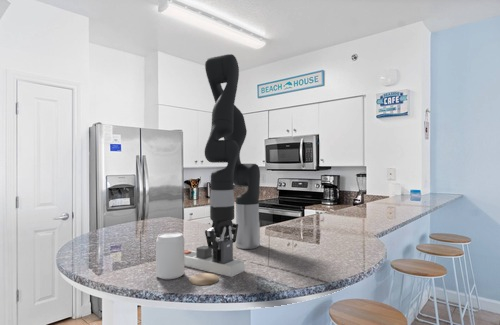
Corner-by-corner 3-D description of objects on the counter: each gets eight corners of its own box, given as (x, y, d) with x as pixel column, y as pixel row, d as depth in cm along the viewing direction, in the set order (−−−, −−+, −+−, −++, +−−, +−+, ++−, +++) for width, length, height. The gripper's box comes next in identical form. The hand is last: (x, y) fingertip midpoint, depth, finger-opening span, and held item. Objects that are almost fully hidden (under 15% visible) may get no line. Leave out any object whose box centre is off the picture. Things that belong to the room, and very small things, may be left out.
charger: (221, 260, 101) (221, 238, 101) (233, 262, 99) (232, 240, 99) (212, 264, 98) (212, 241, 98) (224, 266, 95) (223, 243, 95)
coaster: (203, 273, 95) (203, 271, 95) (224, 278, 91) (224, 276, 91) (183, 281, 88) (183, 279, 88) (205, 287, 84) (205, 285, 84)
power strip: (183, 257, 112) (183, 240, 112) (244, 270, 97) (244, 251, 98) (169, 262, 107) (169, 244, 107) (231, 276, 92) (231, 256, 92)
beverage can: (186, 271, 98) (186, 231, 98) (181, 280, 89) (181, 237, 90) (160, 271, 97) (159, 232, 98) (152, 280, 89) (152, 238, 89)
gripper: (226, 201, 106) (227, 252, 106) (197, 205, 94) (197, 263, 94) (245, 202, 102) (245, 255, 102) (216, 207, 90) (217, 267, 90)
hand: (222, 259), depth 98 cm, fingers closed on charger, 4 cm apart
